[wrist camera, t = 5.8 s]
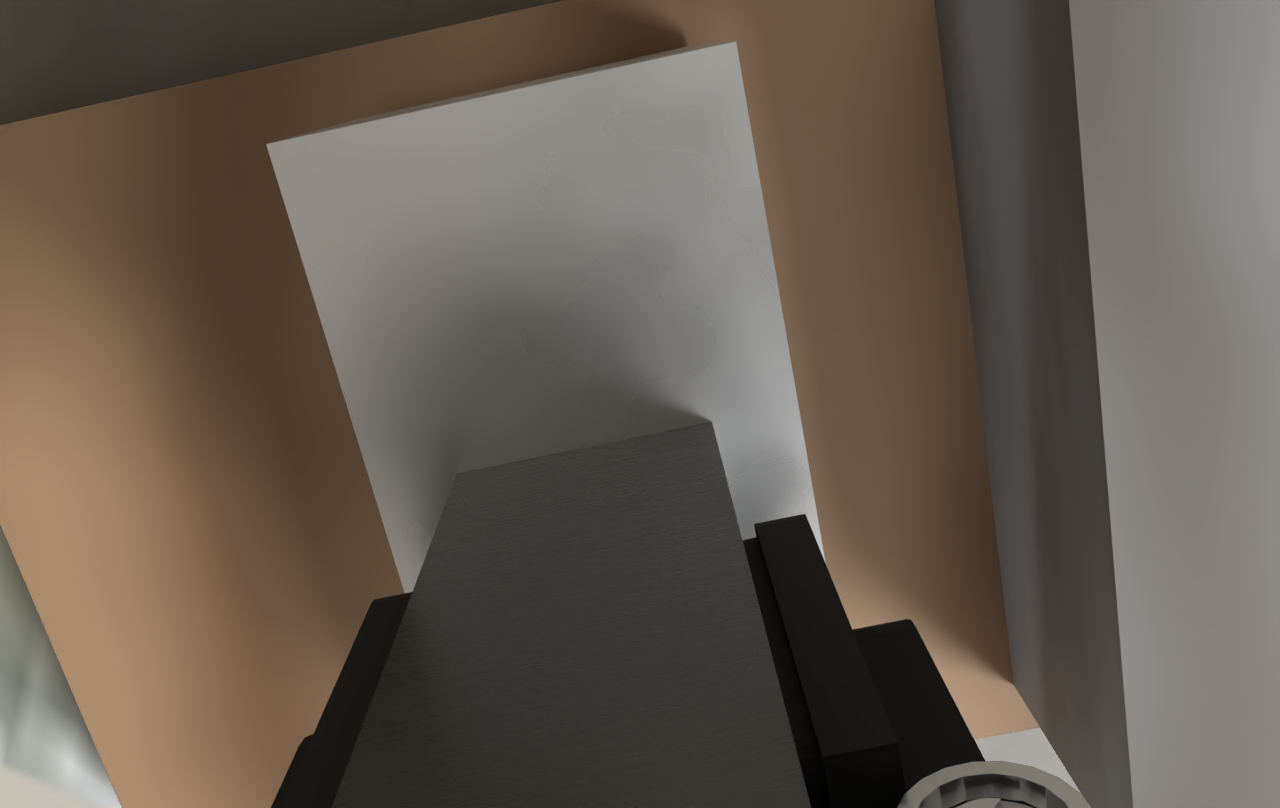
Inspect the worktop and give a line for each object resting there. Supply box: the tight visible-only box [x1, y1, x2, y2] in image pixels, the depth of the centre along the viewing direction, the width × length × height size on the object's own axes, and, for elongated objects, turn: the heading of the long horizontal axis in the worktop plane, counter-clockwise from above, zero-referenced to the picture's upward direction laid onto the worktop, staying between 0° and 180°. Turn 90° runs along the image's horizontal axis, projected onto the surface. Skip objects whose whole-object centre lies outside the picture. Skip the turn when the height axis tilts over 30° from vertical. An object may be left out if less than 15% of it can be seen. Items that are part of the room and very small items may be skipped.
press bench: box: [0, 0, 1280, 808], centre depth 17 cm, size 24×14×7 cm, turn 102°
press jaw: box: [266, 42, 825, 808], centre depth 12 cm, size 5×13×13 cm, turn 12°
